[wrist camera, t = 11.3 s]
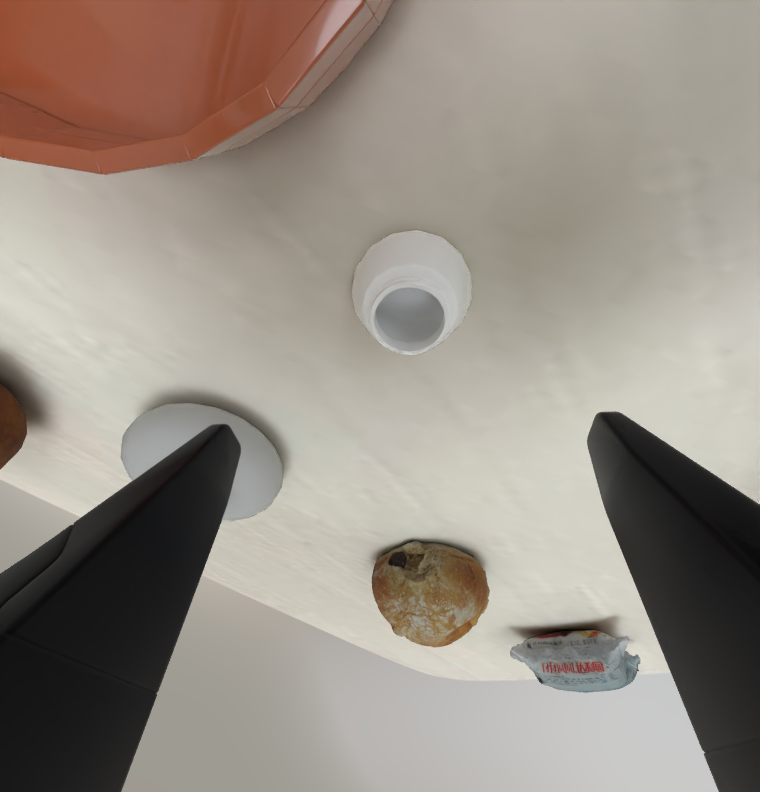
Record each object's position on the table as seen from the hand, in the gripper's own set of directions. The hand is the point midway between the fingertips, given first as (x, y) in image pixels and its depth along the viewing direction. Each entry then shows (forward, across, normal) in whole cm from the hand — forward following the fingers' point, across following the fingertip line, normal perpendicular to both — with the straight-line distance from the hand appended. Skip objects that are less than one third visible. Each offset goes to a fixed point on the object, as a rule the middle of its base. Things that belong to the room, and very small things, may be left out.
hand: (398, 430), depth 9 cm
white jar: (+9, 0, 0) cm, 9 cm away
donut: (+9, +14, +10) cm, 19 cm away
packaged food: (+9, -15, +43) cm, 47 cm away
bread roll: (+9, 0, +27) cm, 29 cm away
